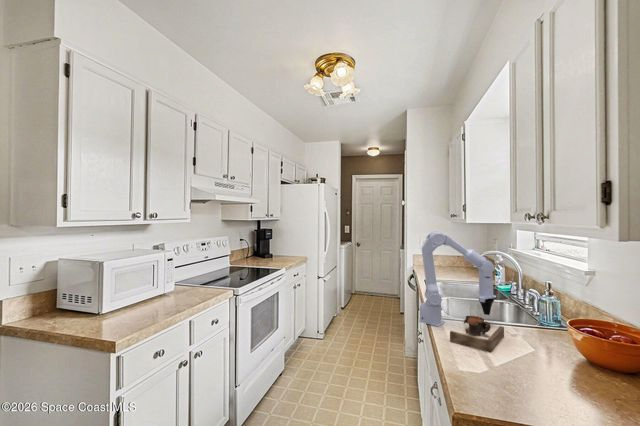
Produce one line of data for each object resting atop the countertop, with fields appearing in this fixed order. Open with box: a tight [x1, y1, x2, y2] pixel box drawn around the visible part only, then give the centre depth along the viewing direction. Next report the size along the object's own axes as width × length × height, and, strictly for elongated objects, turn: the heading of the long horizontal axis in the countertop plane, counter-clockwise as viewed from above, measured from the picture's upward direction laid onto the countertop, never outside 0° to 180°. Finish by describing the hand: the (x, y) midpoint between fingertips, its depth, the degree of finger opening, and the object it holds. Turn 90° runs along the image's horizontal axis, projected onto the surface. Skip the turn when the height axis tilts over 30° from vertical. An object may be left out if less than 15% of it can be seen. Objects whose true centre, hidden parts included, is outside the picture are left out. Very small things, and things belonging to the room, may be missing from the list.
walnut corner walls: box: [449, 325, 505, 354], centre depth 123 cm, size 15×20×4 cm
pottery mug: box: [463, 315, 492, 337], centre depth 130 cm, size 12×10×8 cm
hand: (486, 314), depth 139 cm, fingers closed
